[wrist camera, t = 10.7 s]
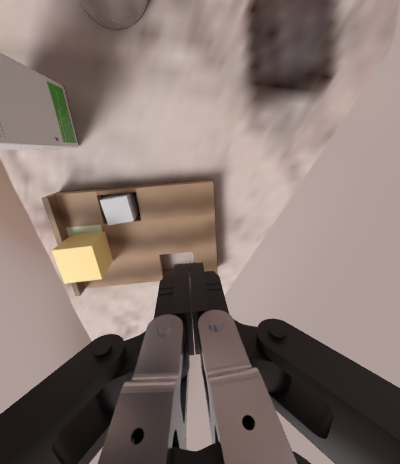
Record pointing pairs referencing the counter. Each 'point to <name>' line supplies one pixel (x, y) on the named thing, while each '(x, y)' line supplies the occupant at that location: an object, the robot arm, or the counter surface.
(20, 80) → the skincare box
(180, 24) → the counter surface
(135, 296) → the counter surface
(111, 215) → the grey block
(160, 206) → the box
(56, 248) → the mustard block
